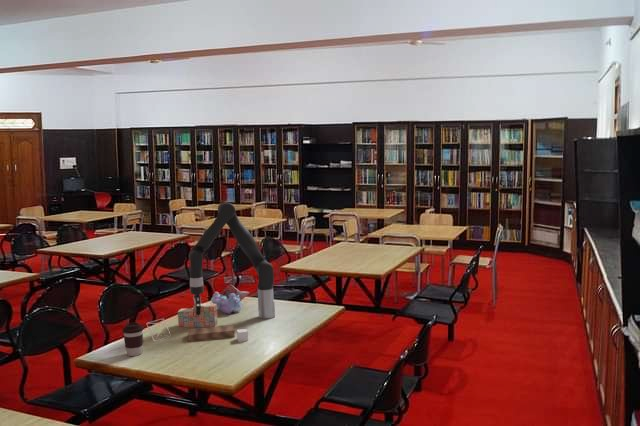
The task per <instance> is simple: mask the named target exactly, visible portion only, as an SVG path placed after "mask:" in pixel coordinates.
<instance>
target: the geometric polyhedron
mask: <svg viewBox="0 0 640 426" xmlns="http://www.w3.org/2000/svg"><path fill="white" fill-rule="evenodd" d="M159 320H161V321H160V323H159V322H158V323H157V321H159ZM162 322H163V323H162ZM148 324H149V325H151V324H153V325H155V324H156V325H158V326H157V327H156V330H155V331H154V332H153V333H152V331H151V329H150V326H149V325H148ZM160 325H163V326H162V327H161V330H160V331H159V333H158V335H157V334H155V333H156V331H157V330H158V328H159V327H160ZM146 326H147V329H148V331H149V333H150V335H151V338H152V339H153V341H155V342H157V341H160V340H163V339H166V338H170V337H171V336H172V335H171V333H170V329H169V327H168V325H167V323H166V321H165V318H160V319H156V320H152V321H149V322H146ZM164 326H165V327H166V328H167V331H168V332H169V335H168V336H165V337H163V338H160V339H158V337H161V334H160V333H161V332H162V330H163V329H164ZM155 336H156V337H155ZM154 337H155V338H154ZM156 339H157V340H156Z"/></svg>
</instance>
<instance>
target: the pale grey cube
mask: <svg viewBox="0 0 640 426" xmlns="http://www.w3.org/2000/svg"><path fill="white" fill-rule="evenodd" d="M236 338H237V339H236V340H237V341H238V343H240V342H248V341H249V332H248V329H247V328H242V329H241V328H240V329H237V330H236Z"/></svg>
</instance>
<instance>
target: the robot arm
mask: <svg viewBox="0 0 640 426" xmlns="http://www.w3.org/2000/svg"><path fill="white" fill-rule="evenodd" d="M226 225H227V226H228V228H229V230H230V232H231V233H232V235H233V237H234V239H235V241H236V243H237V244H238V245H239V247H240V248H241V250H242V251H243V252H244V254H245V255H246V256H247V258H248V259H249V260H250V262H251V264H252V265H253V268H254V270H255V272H256V274H257V275H258V283H257V306H258V318H260V319H265V320H266V319H271V318H275V317H276V313H275V312H276V310H275V309H276V308H275V299H274V283H275V282H274V281H275V275H274V273H275V272H274V266H273V265H272V264H271V263H270V262H268V261H267V260H266V258H265V257H264V256H263V254H262V253H261V251H260V250H259V246H258V244H257V242H256V240H255V238H254V236H253V235H252V234H251V232H250V231H249V229H248V228H247V227H246V226H245V225H244V224H243V223H242V221H241V220H240V218H239V217H238V216H237V213H236V207H235V206H234V204H233V203H230V202H227V201H225V202H220V204H218V207H217V216H216V218H215V219H214V221H213V222H212V223H211V224H210V226H209V227H208V228H207V229H206V230H205V231H204V232H203V234H202V235H201V236H200V238H199V239H198V241H197V243H196V244H195V245H194V246H193V247H192V249H190V250H189V253H188V259H189V262H190V264H189V265H190V268H189V293H190V294H191V295H193V297H192V298H193V303H194V305H196V314H197V315H200V308H201V305H200V304H202V296H201V294H202V295H203V293H204V292H205V291H204V278H203V277H204V276H203V261H204V260H203V255H204V254H205V252H206V251H207V250H208V249H209V248H210V246H212V244H213V242H214V241H215V239H216V238H217V236H218V235H219V234H220V232H221V230H222V229H223V228H224V227H225V226H226ZM197 305H199V306H197Z"/></svg>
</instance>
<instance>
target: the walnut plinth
mask: <svg viewBox="0 0 640 426" xmlns="http://www.w3.org/2000/svg"><path fill="white" fill-rule="evenodd" d="M187 331H188V342H197V341H206V340H207V341H208V340H217V339H228V338H229V339H230V338H235V336H236V335H235V328H234V325H233V324H232V325H221V326H215V327H197V328H190V329H188V330H187Z"/></svg>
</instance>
